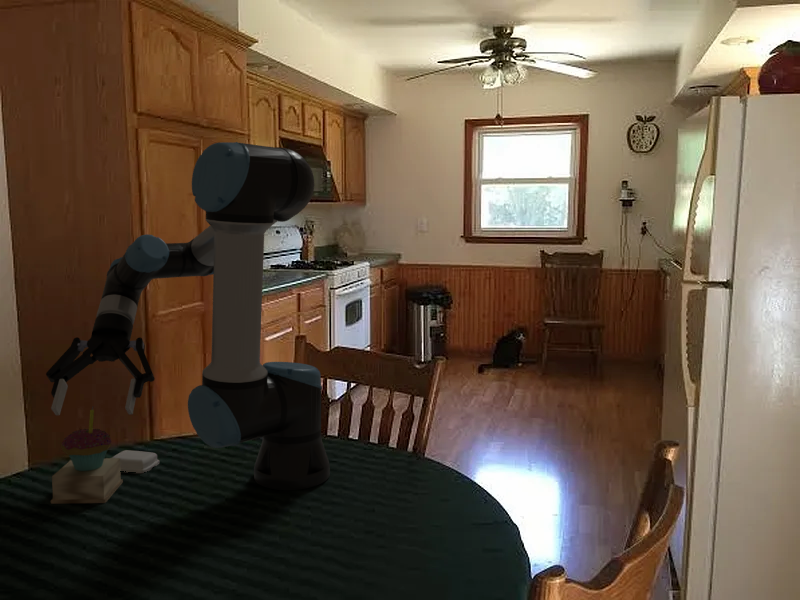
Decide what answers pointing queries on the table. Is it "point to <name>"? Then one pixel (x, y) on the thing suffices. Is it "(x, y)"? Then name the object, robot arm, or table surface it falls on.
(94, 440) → the cupcake
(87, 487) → the pedestal
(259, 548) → the table surface
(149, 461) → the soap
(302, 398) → the robot arm
